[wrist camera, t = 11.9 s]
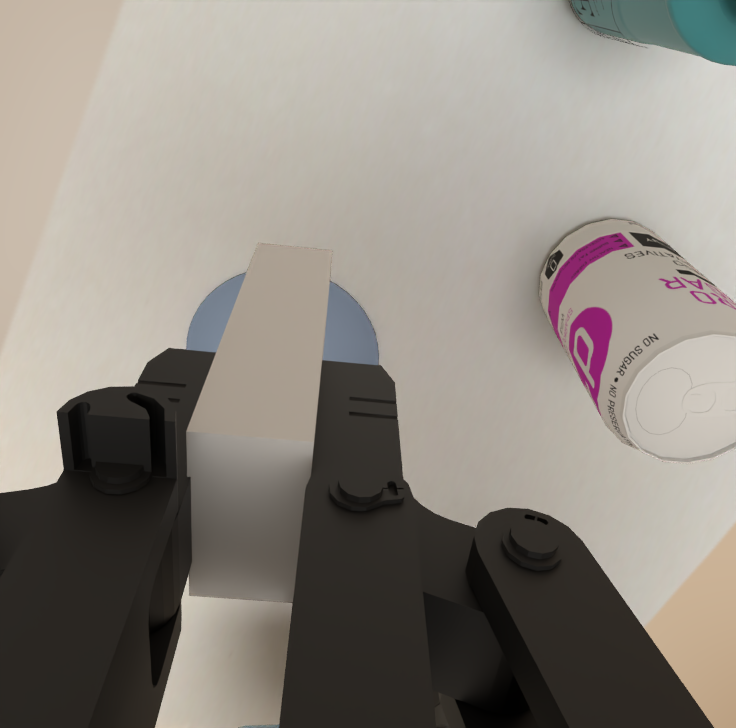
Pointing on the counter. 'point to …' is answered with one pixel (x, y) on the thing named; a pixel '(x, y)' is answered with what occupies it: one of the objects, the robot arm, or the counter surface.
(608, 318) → the supplement can
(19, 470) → the counter surface
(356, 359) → the slate mark
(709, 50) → the beverage bottle
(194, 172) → the counter surface
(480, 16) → the counter surface
